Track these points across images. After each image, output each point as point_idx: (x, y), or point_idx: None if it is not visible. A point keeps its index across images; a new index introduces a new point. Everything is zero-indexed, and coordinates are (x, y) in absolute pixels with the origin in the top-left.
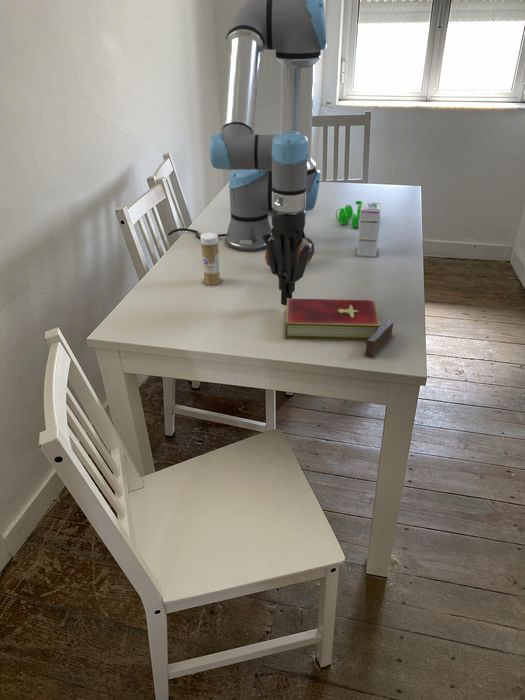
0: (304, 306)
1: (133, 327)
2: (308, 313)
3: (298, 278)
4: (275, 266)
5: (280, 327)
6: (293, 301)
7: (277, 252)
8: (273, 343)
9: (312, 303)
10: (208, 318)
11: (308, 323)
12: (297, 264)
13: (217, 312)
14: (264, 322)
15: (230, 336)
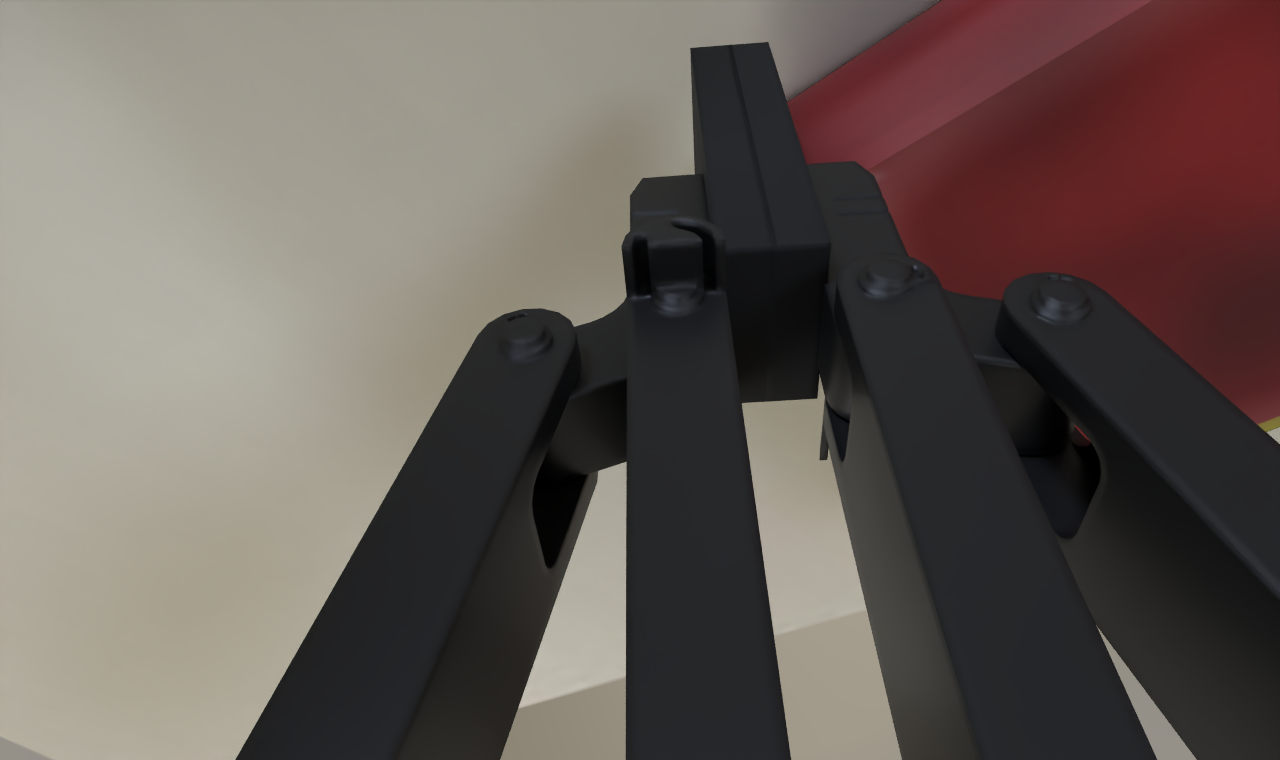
0: (1084, 238)
1: (158, 725)
2: (1179, 322)
3: (1076, 430)
4: (561, 546)
5: None
6: (899, 224)
7: (432, 701)
8: None
9: (1170, 121)
10: (324, 524)
11: None
12: (1195, 731)
13: (284, 453)
14: None
15: (620, 567)
